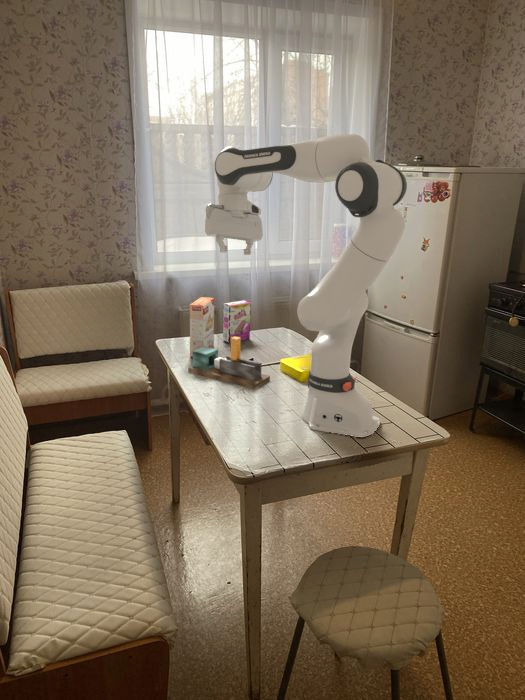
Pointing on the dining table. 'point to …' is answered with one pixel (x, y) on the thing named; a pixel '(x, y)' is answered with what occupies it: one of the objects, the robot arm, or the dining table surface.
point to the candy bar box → (236, 320)
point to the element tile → (297, 367)
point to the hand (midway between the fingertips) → (235, 253)
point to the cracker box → (201, 324)
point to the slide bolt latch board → (227, 368)
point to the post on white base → (232, 352)
